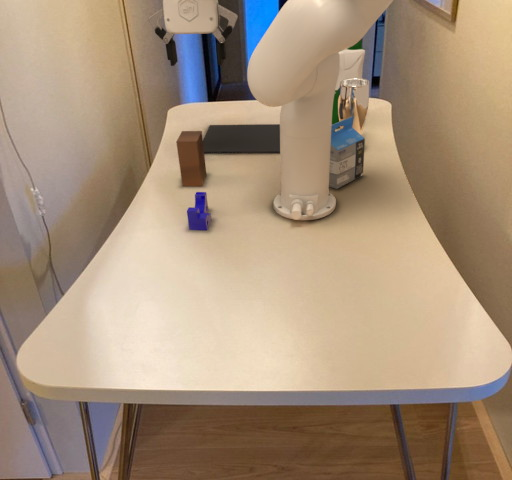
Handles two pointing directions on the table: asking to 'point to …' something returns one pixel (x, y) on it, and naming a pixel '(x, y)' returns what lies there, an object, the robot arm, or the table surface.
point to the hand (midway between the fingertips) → (197, 63)
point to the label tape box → (345, 154)
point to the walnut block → (191, 158)
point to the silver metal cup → (353, 101)
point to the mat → (242, 139)
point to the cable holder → (199, 213)
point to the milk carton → (348, 71)
